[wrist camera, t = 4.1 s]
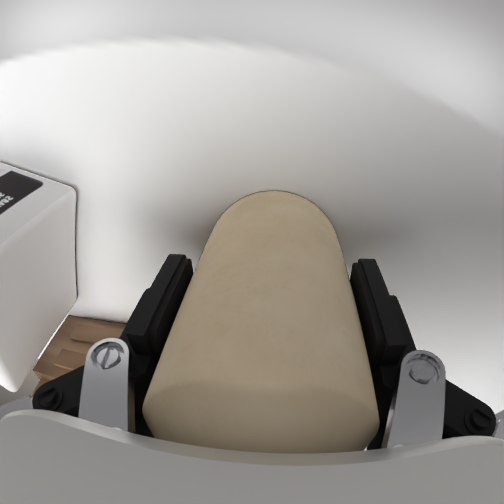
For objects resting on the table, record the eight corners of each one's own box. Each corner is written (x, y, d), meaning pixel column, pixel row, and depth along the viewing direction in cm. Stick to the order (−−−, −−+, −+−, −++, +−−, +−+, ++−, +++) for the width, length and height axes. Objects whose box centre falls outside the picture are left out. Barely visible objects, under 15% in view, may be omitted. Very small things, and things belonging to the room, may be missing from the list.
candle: (326, 301, 15) (343, 512, 6) (213, 292, 15) (157, 496, 6) (347, 195, 12) (439, 449, 3) (209, 185, 12) (78, 421, 4)
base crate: (263, 332, 16) (255, 414, 12) (264, 432, 23) (259, 483, 19) (67, 312, 17) (30, 367, 13) (126, 412, 24) (111, 455, 20)
